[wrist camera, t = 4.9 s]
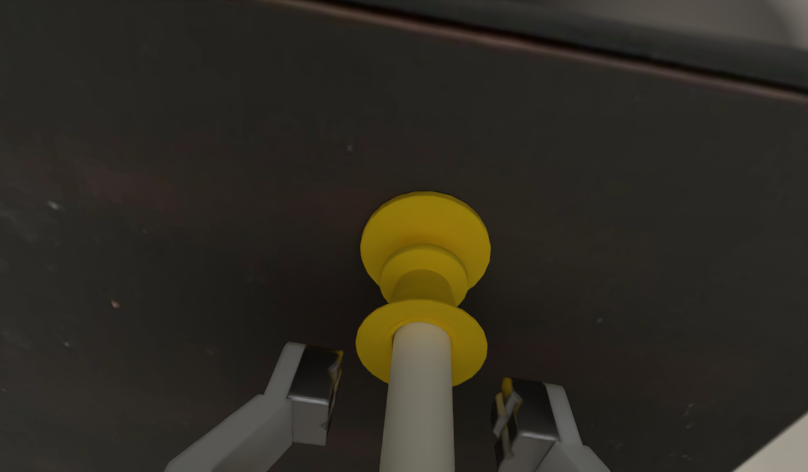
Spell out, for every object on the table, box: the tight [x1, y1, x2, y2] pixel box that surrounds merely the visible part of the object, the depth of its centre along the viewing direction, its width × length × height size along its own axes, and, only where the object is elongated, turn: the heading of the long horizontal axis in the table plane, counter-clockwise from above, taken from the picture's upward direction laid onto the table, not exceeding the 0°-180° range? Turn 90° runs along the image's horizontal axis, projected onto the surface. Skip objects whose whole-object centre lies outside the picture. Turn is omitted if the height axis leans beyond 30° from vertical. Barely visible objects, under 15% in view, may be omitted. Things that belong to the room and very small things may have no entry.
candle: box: [356, 191, 491, 472], centre depth 9 cm, size 5×5×16 cm
